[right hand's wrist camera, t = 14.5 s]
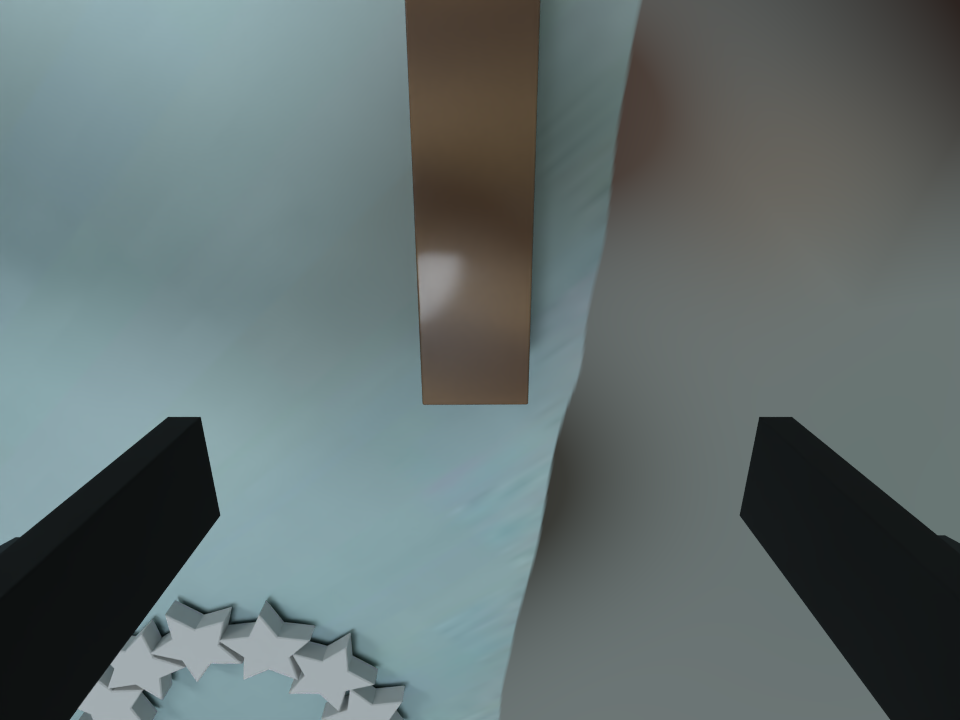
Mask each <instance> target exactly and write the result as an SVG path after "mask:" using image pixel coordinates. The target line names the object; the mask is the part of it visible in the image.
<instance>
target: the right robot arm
mask: <svg viewBox="0 0 960 720" xmlns="http://www.w3.org/2000/svg"><path fill="white" fill-rule="evenodd" d="M740 516H741V518H742V519H743V520H744V522H745V523H746V525H747V526H748V527H749V529H750V530H751V531H752V533H753V534H754V536H755V537H756V538H757V539H758V541H759V542H760V544H761V545H762V546H763V548H764V549H765V550H766V552H767V553H768V554H769V556H770V557H771V559H772V560H773V561H774V562H775V564H776V565H777V567H778V568H779V569H780V571H781V572H782V573H783V575H784V576H785V578H786V579H787V580H788V582H789V583H790V584H791V586H792V587H793V588H794V590H795V591H796V592H797V594H798V595H799V596H800V598H801V599H802V601H803V602H804V603H805V605H806V606H807V607H808V609H809V610H810V611H811V613H812V614H813V616H814V617H815V618H816V620H817V621H818V622H819V624H820V625H821V626H822V628H823V629H824V630H825V632H826V633H827V635H828V636H829V637H830V639H831V640H832V641H833V643H834V644H835V645H836V647H837V648H838V649H839V651H840V652H841V653H842V655H843V656H844V658H845V659H846V660H847V662H848V663H849V664H850V666H851V667H852V668H853V670H854V671H855V672H856V674H857V675H858V677H859V678H860V679H861V681H862V682H863V683H864V685H865V686H866V687H867V689H868V690H869V691H870V693H871V694H872V696H873V697H874V698H875V700H876V701H877V702H878V704H879V705H880V706H881V708H882V709H883V710H884V712H885V713H886V714H887V716H888V717H889V719H890V720H960V543H958V542H956V541H954V540H953V539H951V538H949V537H947V536H945V535H936V534H935V533H934V532H933V531H931V530H930V529H929V528H928V527H926V526H925V525H924V524H923V523H922V522H920V521H919V520H918V519H917V518H915V517H914V516H913V515H912V514H911V513H909V512H908V511H907V510H906V509H904V508H903V507H902V506H901V505H899V504H898V503H897V502H896V501H895V500H893V499H892V498H891V497H890V496H888V495H887V494H886V493H885V492H883V491H882V490H881V489H880V488H879V487H877V486H876V485H875V484H874V483H872V482H871V481H870V480H869V479H867V478H866V477H865V476H864V475H863V474H861V473H860V472H859V471H858V470H856V469H855V468H854V467H853V466H851V465H850V464H849V463H848V462H847V461H845V460H844V459H843V458H842V457H840V456H839V455H838V454H837V453H835V452H834V451H833V450H832V449H831V448H829V447H828V446H827V445H826V444H824V443H823V442H822V441H821V440H820V439H818V438H817V437H816V436H815V435H813V434H812V433H811V432H810V431H808V430H807V429H806V428H805V427H804V426H802V425H801V424H800V423H799V422H797V421H796V420H795V419H794V418H793V417H759V422H758V427H757V432H756V437H755V442H754V447H753V452H752V457H751V462H750V467H749V472H748V477H747V482H746V487H745V492H744V497H743V502H742V507H741V512H740ZM219 517H220V512H219V507H218V502H217V497H216V492H215V487H214V482H213V477H212V472H211V467H210V462H209V457H208V452H207V447H206V442H205V437H204V432H203V427H202V422H201V417H167V418H166V419H165V420H164V421H163V422H161V423H160V424H159V425H158V426H156V427H155V428H154V429H153V430H152V431H150V432H149V433H148V434H147V435H145V436H144V437H143V438H142V439H140V440H139V441H138V442H137V443H136V444H134V445H133V446H132V447H131V448H129V449H128V450H127V451H126V452H124V453H123V454H122V455H121V456H120V457H118V458H117V459H116V460H115V461H113V462H112V463H111V464H110V465H108V466H107V467H106V468H105V469H104V470H102V471H101V472H100V473H99V474H97V475H96V476H95V477H94V478H93V479H91V480H90V481H89V482H88V483H86V484H85V485H84V486H83V487H81V488H80V489H79V490H78V491H77V492H75V493H74V494H73V495H72V496H70V497H69V498H68V499H67V500H65V501H64V502H63V503H62V504H61V505H59V506H58V507H57V508H56V509H54V510H53V511H52V512H51V513H49V514H48V515H47V516H46V517H45V518H43V519H42V520H41V521H40V522H38V523H37V524H36V525H35V526H34V527H32V528H31V529H30V530H29V531H27V532H26V533H25V534H24V535H22V536H21V537H15V538H14V539H12V540H10V541H8V542H6V543H4V544H2V545H1V546H0V720H70V719H71V717H72V716H73V715H74V713H75V712H76V710H77V709H78V708H79V706H80V705H81V704H82V702H83V701H84V700H85V698H86V697H87V696H88V694H89V693H90V691H91V690H92V689H93V687H94V686H95V685H96V683H97V682H98V681H99V679H100V678H101V677H102V675H103V674H104V672H105V671H106V670H107V668H108V667H109V666H110V664H111V663H112V662H113V660H114V659H115V658H116V656H117V655H118V653H119V652H120V651H121V649H122V648H123V647H124V645H125V644H126V643H127V641H128V640H129V639H130V637H131V636H132V635H133V633H134V632H135V630H136V629H137V628H138V626H139V625H140V624H141V622H142V621H143V620H144V618H145V617H146V616H147V614H148V613H149V611H150V610H151V609H152V607H153V606H154V605H155V603H156V602H157V601H158V599H159V598H160V597H161V595H162V594H163V592H164V591H165V590H166V588H167V587H168V586H169V584H170V583H171V582H172V580H173V579H174V578H175V576H176V575H177V573H178V572H179V571H180V569H181V568H182V567H183V565H184V564H185V563H186V561H187V560H188V559H189V557H190V556H191V554H192V553H193V552H194V550H195V549H196V548H197V546H198V545H199V544H200V542H201V541H202V540H203V538H204V537H205V536H206V534H207V533H208V531H209V530H210V529H211V527H212V526H213V525H214V523H215V522H216V521H217V519H218V518H219Z"/></svg>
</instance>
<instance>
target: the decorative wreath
mask: <svg viewBox="0 0 960 720" xmlns="http://www.w3.org/2000/svg"><path fill="white" fill-rule="evenodd" d="M231 610H232V607H230V608H226V609H222V610H219V611H215V612H212V613H208V614H205V615H204V614H202V613H200V612H198V611H196V610H194V609H192V608H190V607H188V606H186V605H184V604H182V603H180V602H178V601H176V600H175V601H174V603H173V604H172V605H171V607H170V608H169V610H168V611H167V613H166V614H165V616H166V619H167V623H168V626H169V630H170V633H168V634H166V635H165V636H163V637H161V635H160V633H159V631H158V629H157V627H156V624H155V622H154V620H153V619H152V620H151V621H150V622H149V623H148V624H147V625H146V626H145V627H144V628H143V629H142V630H141V632H140V633H139V634H138V635H137V636H133V635H132V636H131V637H130V639H129V640H128V641H127V643H126V644H125V645H124V647H123V648H122V649H121V651H120V652H119V653H118V655H117V656H116V658H115V659H114V660H113V662H112V663H111V664H110V666H109V667H108V668H107V670H106V671H105V672H104V674H103V675H102V677H101V678H100V679H99V681H98V682H97V683H96V685H95V686H94V687H93V689H92V690H91V691H90V693H89V694H88V696H87V697H86V698H85V700H84V701H83V702H82V704H81V705H80V706H79V708H78V709H79V710H81V711H84V713H83V715H82V716H81V717H80V719H79V720H153V718H154V717H155V715H156V713H157V712H158V711H157V710H156V708H155V707H154V706H153V705H152V704H151V702H150V701H149V700H148V699H147V697H146V696H145V695H144V694H143V693H142V691H143V689H144V690H146V691H148V692H149V693H151V694H153V695H154V696H156V697H158V698H159V699H161V700H163V699H164V697H165V695H166V694H167V692H168V690H169V689H170V687H171V685H172V677H171V673H173V672H175V671H178V670H180V669H182V668H185V667H187V668H188V669H189V671H190V672H191V674H192V675H193V677H194V678H195V680H196V681H197V682H198V681H199V679H200V678H201V677H202V675H203V674H204V672H205V671H206V670H207V668H208V667H209V665H210V664H242V663H243V661H244V679H247V678H249V677H252V676H254V675H257V674H259V673H261V672H264V671H266V670H272V671H274V672H277V673H280V674H283V675H285V676H288V677H291V678H293V679H294V680H293V683H292V686H291V688H290V691H289V694H320V695H321V696H323V697H324V698H325V699H326V700H327V701H328V702H327V703H326V704H325V708H324V711H323V715H322V718H321V719H322V720H403V718H402V717H401V716H400V714H399V713H398V712H397V709H398V707H399V706H400V704H401V703H402V701H403V694H404V688H405V686H394V687H385V688H374V687H373V686H372V685H374V684H375V681H376V676H377V671H378V669H377V668H376V667H374V666H372V665H370V664H368V663H366V662H364V661H362V660H360V659H358V658H356V657H355V656H353V655H352V643H351V633H349V634H347V635H345V636H344V637H342V638H340V639H339V640H337V641H335V642H333V643H332V644H330V645H328V646H326V645H322V644H318V643H314V642H311V641H310V639H311V636H312V634H313V631H314V628H315V626H314V625H306V624H297V623H289V622H284V621H283V620H282V619H281V618H280V616H279V615H278V614H277V613H276V612H275V610H274V609H273V608H272V607H271V605H270V604H269V603H268V602H267V600H266V602H265V604H264V606H263V608H262V610H261V612H260V614H259V616H258V618H257V621H256V622H252V623H243V624H234V625H228V624H229V619H230V614H231ZM348 690H350V694H349V695H347V696H344V695H345V692H346V691H348Z"/></svg>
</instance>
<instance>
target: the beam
mask: <svg viewBox="0 0 960 720" xmlns="http://www.w3.org/2000/svg"><path fill="white" fill-rule="evenodd" d="M405 14H406V37H407V60H408V82H409V105H410V128H411V151H412V174H413V196H414V219H415V242H416V265H417V288H418V310H419V333H420V356H421V379H422V402H423V404H424V405H471V404H528V386H529V353H530V321H531V288H532V255H533V222H534V190H535V157H536V124H537V92H538V59H539V26H540V0H405Z"/></svg>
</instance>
